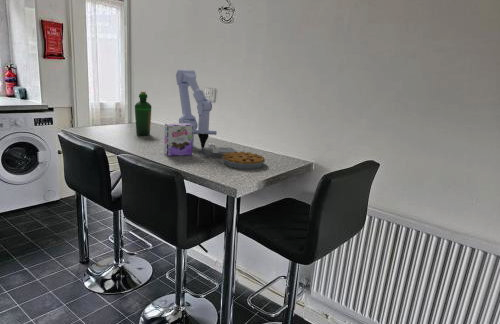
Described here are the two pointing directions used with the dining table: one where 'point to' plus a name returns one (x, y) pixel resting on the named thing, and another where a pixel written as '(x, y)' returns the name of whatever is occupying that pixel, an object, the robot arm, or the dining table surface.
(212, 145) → the slider back
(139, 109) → the bottle
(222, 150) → the control box
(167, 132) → the candy box
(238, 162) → the pie
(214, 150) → the slider front
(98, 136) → the dining table surface
